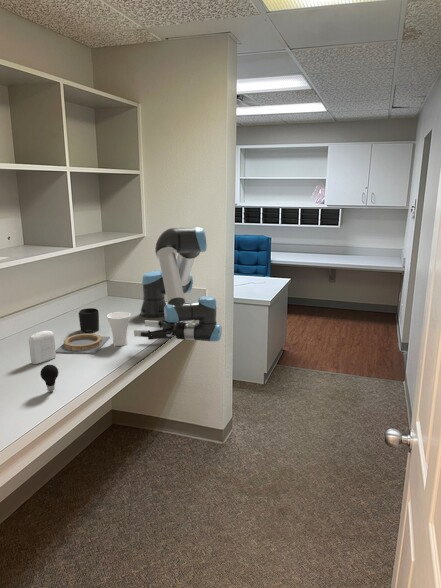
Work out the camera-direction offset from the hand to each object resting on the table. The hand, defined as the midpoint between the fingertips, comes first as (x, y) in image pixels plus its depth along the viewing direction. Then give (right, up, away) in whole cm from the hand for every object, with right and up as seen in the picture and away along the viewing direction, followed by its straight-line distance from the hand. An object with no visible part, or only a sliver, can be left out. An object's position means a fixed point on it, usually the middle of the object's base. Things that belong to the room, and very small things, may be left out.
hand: (139, 328), depth 198 cm
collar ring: (-26, -8, +2) cm, 27 cm away
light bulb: (-23, -19, -42) cm, 52 cm away
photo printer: (-37, -12, -15) cm, 42 cm away
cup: (-10, -8, +4) cm, 13 cm away
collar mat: (-26, -8, +2) cm, 27 cm away
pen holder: (-28, -3, +21) cm, 36 cm away
